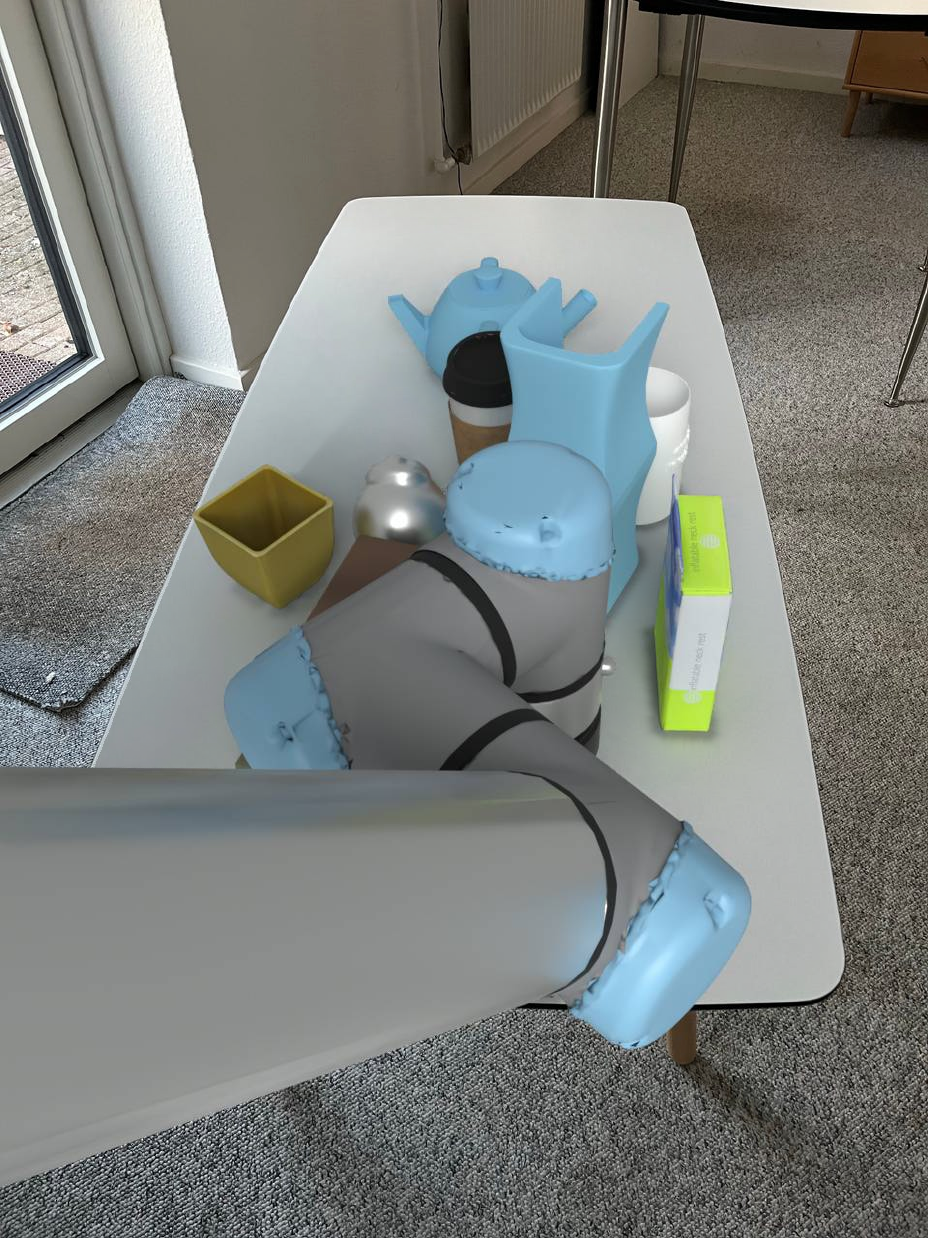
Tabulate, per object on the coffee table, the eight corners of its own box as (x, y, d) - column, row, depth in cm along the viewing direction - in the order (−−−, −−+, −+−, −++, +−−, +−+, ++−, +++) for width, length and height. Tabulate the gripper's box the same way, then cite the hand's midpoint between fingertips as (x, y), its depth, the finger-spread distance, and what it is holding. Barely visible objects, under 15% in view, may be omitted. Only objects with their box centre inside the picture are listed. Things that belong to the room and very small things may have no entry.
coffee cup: (549, 472, 105) (551, 338, 94) (517, 526, 100) (515, 390, 89) (471, 453, 107) (464, 320, 97) (435, 504, 102) (424, 370, 91)
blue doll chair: (645, 552, 96) (671, 303, 78) (601, 624, 91) (617, 373, 72) (547, 521, 100) (549, 275, 82) (498, 588, 94) (489, 339, 76)
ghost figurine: (467, 527, 100) (462, 440, 93) (439, 597, 94) (430, 510, 86) (376, 513, 102) (364, 427, 95) (342, 581, 96) (326, 495, 88)
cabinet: (449, 774, 81) (442, 702, 75) (298, 734, 84) (280, 662, 78) (508, 638, 90) (506, 564, 84) (371, 606, 93) (359, 533, 87)
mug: (688, 451, 106) (702, 346, 97) (676, 530, 98) (690, 423, 89) (605, 442, 108) (612, 338, 99) (587, 520, 100) (592, 413, 91)
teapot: (509, 427, 110) (507, 331, 102) (390, 369, 118) (379, 276, 110) (599, 361, 118) (604, 266, 110) (481, 311, 126) (477, 220, 118)
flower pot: (211, 588, 96) (188, 512, 89) (283, 537, 100) (266, 460, 94) (277, 634, 92) (257, 557, 85) (349, 578, 96) (336, 501, 89)
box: (710, 734, 82) (742, 572, 70) (656, 732, 83) (678, 571, 70) (700, 633, 89) (726, 470, 77) (650, 632, 90) (668, 469, 77)
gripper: (608, 913, 49) (592, 1084, 64) (596, 544, 66) (585, 750, 81) (445, 907, 50) (468, 1079, 65) (475, 543, 67) (487, 748, 82)
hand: (533, 896), depth 73 cm, fingers open, 13 cm apart
